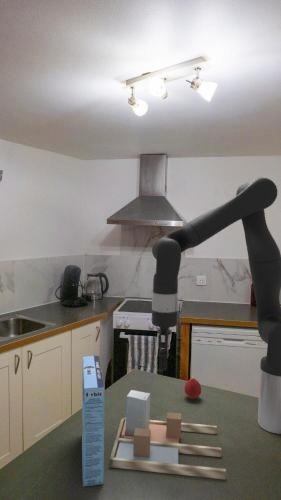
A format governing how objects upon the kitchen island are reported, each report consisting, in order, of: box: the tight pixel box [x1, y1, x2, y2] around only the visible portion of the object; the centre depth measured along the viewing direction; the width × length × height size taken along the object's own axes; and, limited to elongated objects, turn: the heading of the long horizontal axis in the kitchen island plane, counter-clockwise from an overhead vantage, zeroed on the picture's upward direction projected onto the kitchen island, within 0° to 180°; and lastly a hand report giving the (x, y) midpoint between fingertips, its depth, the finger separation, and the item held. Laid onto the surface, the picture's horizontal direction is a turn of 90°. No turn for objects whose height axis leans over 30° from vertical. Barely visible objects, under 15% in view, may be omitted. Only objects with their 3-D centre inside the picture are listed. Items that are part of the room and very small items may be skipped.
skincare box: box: [125, 389, 151, 437], centre depth 93 cm, size 6×4×12 cm
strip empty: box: [115, 428, 179, 464], centre depth 84 cm, size 16×7×7 cm, turn 84°
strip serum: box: [121, 412, 182, 444], centre depth 92 cm, size 16×8×7 cm, turn 84°
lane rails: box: [109, 416, 227, 480], centre depth 88 cm, size 28×18×2 cm, turn 84°
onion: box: [183, 376, 202, 400], centre depth 114 cm, size 6×6×8 cm
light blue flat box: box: [81, 355, 106, 487], centre depth 83 cm, size 20×5×23 cm, turn 10°
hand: (163, 363), depth 94 cm, fingers open, 8 cm apart
